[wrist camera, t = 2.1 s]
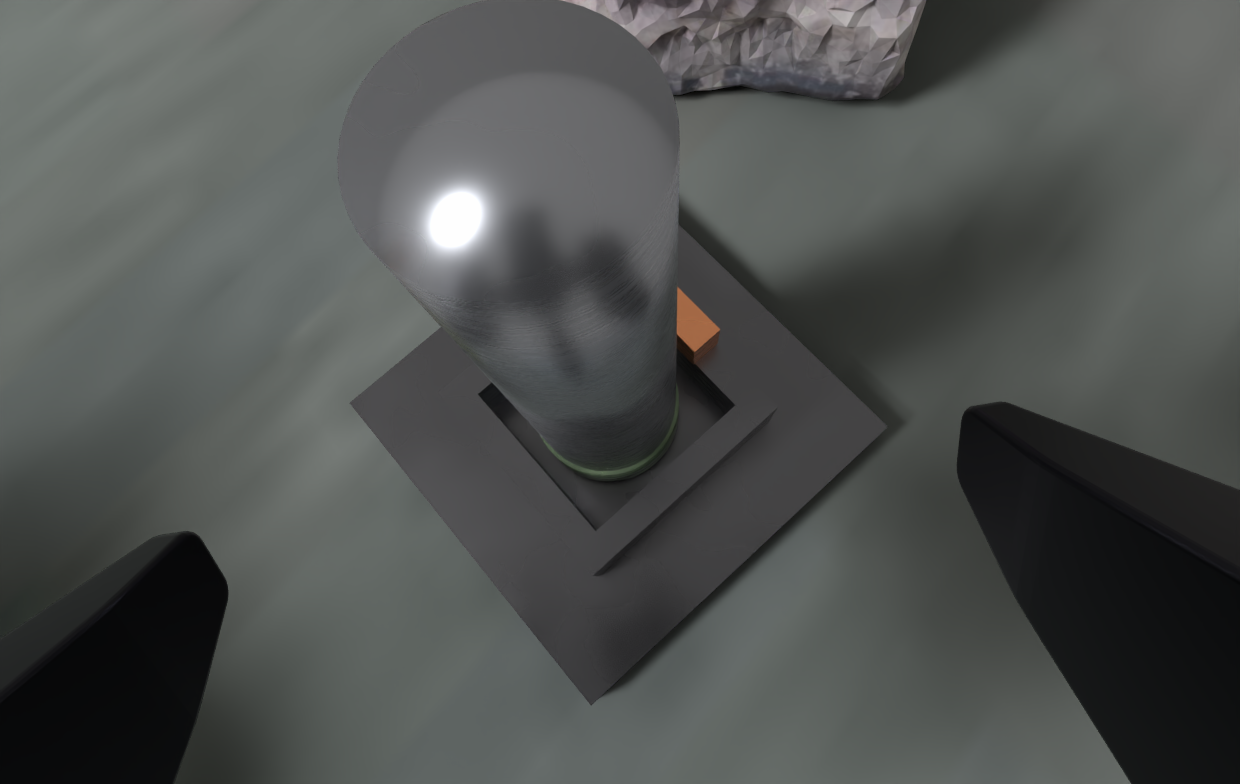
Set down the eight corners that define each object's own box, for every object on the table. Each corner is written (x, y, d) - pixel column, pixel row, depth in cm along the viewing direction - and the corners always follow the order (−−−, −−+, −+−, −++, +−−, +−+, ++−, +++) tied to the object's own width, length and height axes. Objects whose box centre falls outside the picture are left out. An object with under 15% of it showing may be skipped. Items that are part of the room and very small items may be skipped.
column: (707, 418, 18) (766, 141, 7) (603, 511, 18) (478, 387, 6) (615, 322, 19) (529, -67, 8) (514, 409, 19) (261, 137, 7)
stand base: (879, 432, 19) (922, 402, 16) (594, 699, 18) (576, 727, 14) (627, 188, 21) (619, 117, 18) (362, 409, 20) (301, 376, 17)
